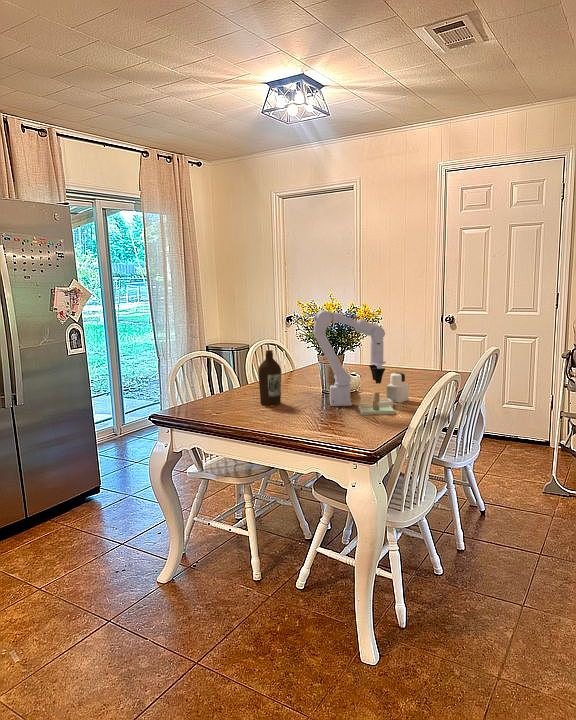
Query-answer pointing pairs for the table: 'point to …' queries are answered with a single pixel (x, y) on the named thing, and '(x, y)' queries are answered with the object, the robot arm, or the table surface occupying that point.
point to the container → (397, 388)
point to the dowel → (375, 401)
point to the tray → (382, 410)
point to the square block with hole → (386, 402)
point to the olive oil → (270, 380)
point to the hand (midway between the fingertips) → (376, 381)
